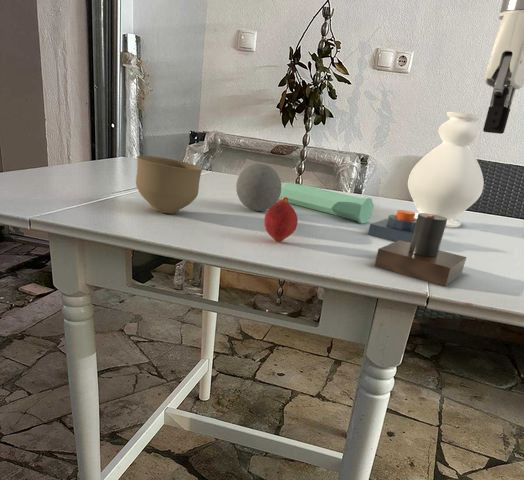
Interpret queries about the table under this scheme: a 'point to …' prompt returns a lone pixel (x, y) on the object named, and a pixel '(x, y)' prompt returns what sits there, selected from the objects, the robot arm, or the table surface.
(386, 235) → the button box
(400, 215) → the button
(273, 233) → the onion
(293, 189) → the green hexagonal prism
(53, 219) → the table surface
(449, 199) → the decorative vase
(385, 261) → the brown rectangular block
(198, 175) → the bowl
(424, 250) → the knob
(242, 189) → the decorative ball
